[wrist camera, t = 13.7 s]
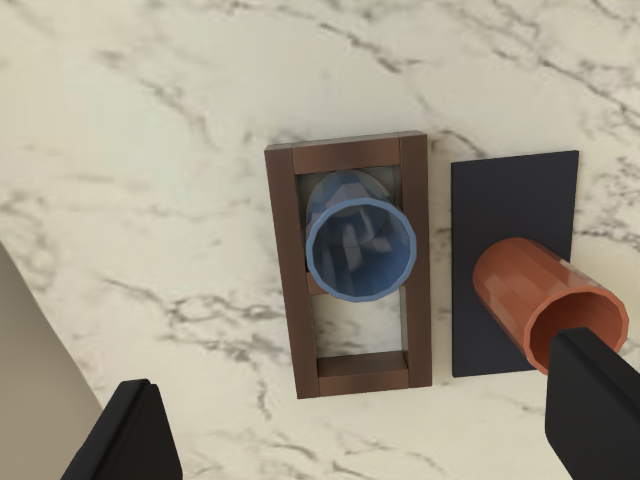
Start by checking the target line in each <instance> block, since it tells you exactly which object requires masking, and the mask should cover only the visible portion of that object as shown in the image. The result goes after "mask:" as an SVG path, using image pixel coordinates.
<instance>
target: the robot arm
mask: <svg viewBox="0 0 640 480" xmlns="http://www.w3.org/2000/svg"><path fill="white" fill-rule="evenodd" d="M545 433H546V437H547V439H548V442H549V444H550V445H551V447H552V448H553V450H554V451H555V453H556V454H557V456H558V457H559V459H560V460H561V462H562V463H563V465H564V467H565V468H566V470H567V471H568V473H569V474H570V476H571V477H572V479H573V480H640V374H639V373H638V372H637V371H636V370H635V369H634V368H632V367H631V366H630V365H629V364H628V363H627V362H626V361H625V360H624V359H622V358H621V357H620V356H619V355H618V354H617V353H616V352H615V351H613V350H612V349H611V348H610V347H609V346H608V345H607V344H606V343H605V342H603V341H602V340H601V339H600V338H599V337H598V336H597V335H596V334H595V333H593V332H592V331H591V330H590V329H589V328H587V327H576V328H567V329H560V330H559V331H558V332H557V335H556V336H553V337H552V338H551V339H550V348H549V365H548V381H547V397H546V413H545ZM60 480H183V473H182V468H181V464H180V461H179V457H178V454H177V450H176V447H175V443H174V440H173V436H172V433H171V429H170V426H169V423H168V419H167V416H166V412H165V409H164V405H163V402H162V398H161V395H160V391H159V388H158V386H157V385H156V384H151V383H150V381H149V380H148V379H138V380H130V381H123V382H121V383H120V384H119V386H118V387H117V389H116V391H115V392H114V394H113V396H112V397H111V399H110V401H109V402H108V404H107V406H106V407H105V409H104V411H103V412H102V414H101V416H100V417H99V419H98V421H97V422H96V424H95V426H94V427H93V429H92V431H91V433H90V434H89V436H88V437H87V439H86V441H85V442H84V444H83V446H82V447H81V448H80V449H79V450H78V452H77V453H76V455H75V456H74V458H73V460H72V461H71V463H70V465H69V466H68V468H67V469H66V471H65V473H64V474H63V476H62V478H61V479H60Z"/></svg>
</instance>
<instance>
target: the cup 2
mask: <svg viewBox="0 0 640 480" xmlns="http://www.w3.org/2000/svg"><path fill="white" fill-rule="evenodd" d="M472 279H473V287H474V290H475V293H476V294H477V296H478V297H479V299H480V301H481V302H482V304H483V305H484V306H485V307H486V309H487V310H488V311H489V312H490V314H491V315H492V316H493V317H494V319H495V320H496V321H497V322H498V324H499V325H500V326H501V327H502V329H503V330H504V331H505V332H506V334H507V335H508V336H509V337H510V339H511V340H512V341H513V342H514V344H515V345H516V346H517V347H518V349H519V350H520V351H521V352H522V354H523V355H524V356H525V357H526V359H527V360H528V361H529V362H530V364H531V365H533V366H534V367H535V368H536V369H538V370H539V371H540V372H541V373H543V374H545V375H548V365H549V348H550V339H551V338H552V337H553V336H556V335H557V332H558V331H559V330H560V329H567V328H576V327H587V328H589V329H590V330H591V331H592V332H593V333H595V334H596V335H597V336H598V337H599V338H600V339H601V340H602V341H603V342H605V343H606V344H607V345H608V346H609V347H610V348H611V349H612V350H613V351H615V352H616V353H617V354H618V352H619V351H620V349H621V347H622V345H623V344H624V342H625V340H626V338H627V332H628V325H629V318H628V315H627V312H626V310H625V307H624V304H623V302H621V301H620V300H619V299H618V298H617V297H616V296H615V295H614V294H613V293H612V292H610V291H609V290H607V289H606V288H605V287H603V286H602V285H600V284H599V283H597V282H596V281H594V280H593V279H591V278H590V277H588V276H587V275H585V274H584V273H583V272H581V271H580V270H578V269H577V268H575V267H574V266H572V265H571V264H569V263H568V262H566V261H565V260H563V259H562V258H560V257H559V256H558V255H556V254H555V253H553V252H552V251H550V250H549V249H547V248H546V247H544V246H543V245H541V244H540V243H537V242H535V241H534V240H531V239H528V238H522V237H513V238H507V239H504V240H501V241H499V242H497V243H495V244H493V245H492V246H490V247H489V248H488V249H487V250H485V251H484V253H483V254H482V255H481V256H480V258H479V259H478V261H477V263H476V265H475V267H474V271H473V278H472Z"/></svg>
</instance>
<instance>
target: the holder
mask: <svg viewBox="0 0 640 480" xmlns="http://www.w3.org/2000/svg"><path fill="white" fill-rule="evenodd" d="M264 154H265V161H266V169H267V176H268V184H269V191H270V198H271V206H272V213H273V221H274V228H275V236H276V243H277V251H278V258H279V265H280V273H281V280H282V288H283V295H284V303H285V310H286V318H287V325H288V332H289V340H290V347H291V355H292V362H293V370H294V377H295V385H296V392H297V399H306V398H317V397H320V396H321V397H325V396H335V395H346V394H356V393H367V392H377V391H387V390H398V389H408V388H419V387H429V386H432V354H431V306H430V259H429V211H428V164H427V134H424V133H422V132H420V131H417V130H416V131H406V132H397V133H386V134H376V135H367V136H357V137H347V138H337V139H327V140H317V141H307V142H297V143H287V144H277V145H268V146H267V147H266V149H265V150H264ZM389 165H394V180H395V202H396V204H397V205H398V206H399V208H400V209H401V210H402V212H403V213H404V214H405V216H406V217H407V218H408V221H409V223H410V225H411V227H412V229H413V231H414V233H415V235H416V246H417V258H416V260H415V263H414V265H413V268H412V270H411V273H410V275H409V277H408V278H407V279H406V280H405V281H404V282H403V283H402V284H401V285H400V286H399V292H400V314H401V336H402V351H392V352H381V353H371V354H361V355H351V356H340V357H330V358H320V359H318V360H317V351H316V342H315V333H314V324H313V316H312V307H311V298H310V295H317V294H327V293H328V292H327V291H325V290H324V289H323V288H321V287H320V286H319V285H318V284H317V282H316V280H315V279H314V277H313V275H312V274H311V272H310V270H309V268H308V263H307V260H306V254H305V245H304V236H303V228H302V219H301V210H300V201H299V192H298V184H297V175H299V174H309V173H319V172H329V171H339V170H349V169H359V168H369V167H379V166H389Z"/></svg>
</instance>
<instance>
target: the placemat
mask: <svg viewBox="0 0 640 480" xmlns="http://www.w3.org/2000/svg"><path fill="white" fill-rule="evenodd" d="M578 159H579V151H577V150H574V151H564V152H554V153H544V154H534V155H524V156H514V157H504V158H494V159H484V160H474V161H464V162H454V163H451V202H452V375H453V377H454V378H456V377H466V376H477V375H487V374H497V373H508V372H518V371H528V370H538V369H536V368H535V367H534V366H533V365H531V364H530V362H529V361H528V360H527V359H526V357H525V356H524V355H523V354H522V352H521V351H520V350H519V349H518V347H517V346H516V345H515V344H514V342H513V341H512V340H511V339H510V337H509V336H508V335H507V334H506V332H505V331H504V330H503V329H502V327H501V326H500V325H499V324H498V322H497V321H496V320H495V319H494V317H493V316H492V315H491V314H490V312H489V311H488V310H487V309H486V307H485V306H484V305H483V304H482V302H481V301H480V299H479V297H478V296H477V294H476V293H475V290H474V287H473V279H472V278H473V271H474V267H475V265H476V263H477V261H478V259H479V258H480V256H481V255H482V254H483V253H484V251H485V250H487V249H488V248H489V247H490V246H492V245H493V244H495V243H497V242H499V241H501V240H504V239H507V238H513V237H522V238H528V239H531V240H534V241H535V242H537V243H540V244H541V245H543V246H544V247H546V248H547V249H549V250H550V251H552V252H553V253H555V254H556V255H558V256H559V257H560V258H562V259H563V260H565V261H566V262H568V263H569V264H570V254H571V242H572V230H573V218H574V206H575V194H576V183H577V171H578Z"/></svg>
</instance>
